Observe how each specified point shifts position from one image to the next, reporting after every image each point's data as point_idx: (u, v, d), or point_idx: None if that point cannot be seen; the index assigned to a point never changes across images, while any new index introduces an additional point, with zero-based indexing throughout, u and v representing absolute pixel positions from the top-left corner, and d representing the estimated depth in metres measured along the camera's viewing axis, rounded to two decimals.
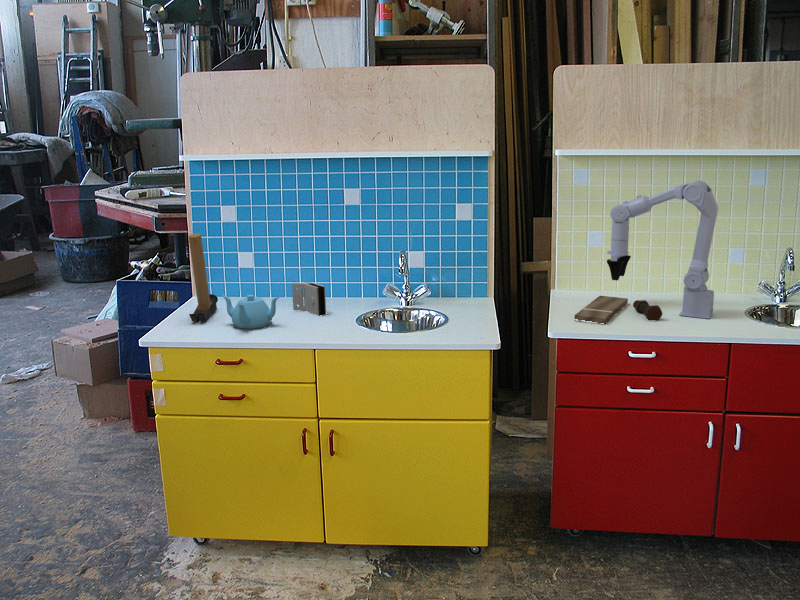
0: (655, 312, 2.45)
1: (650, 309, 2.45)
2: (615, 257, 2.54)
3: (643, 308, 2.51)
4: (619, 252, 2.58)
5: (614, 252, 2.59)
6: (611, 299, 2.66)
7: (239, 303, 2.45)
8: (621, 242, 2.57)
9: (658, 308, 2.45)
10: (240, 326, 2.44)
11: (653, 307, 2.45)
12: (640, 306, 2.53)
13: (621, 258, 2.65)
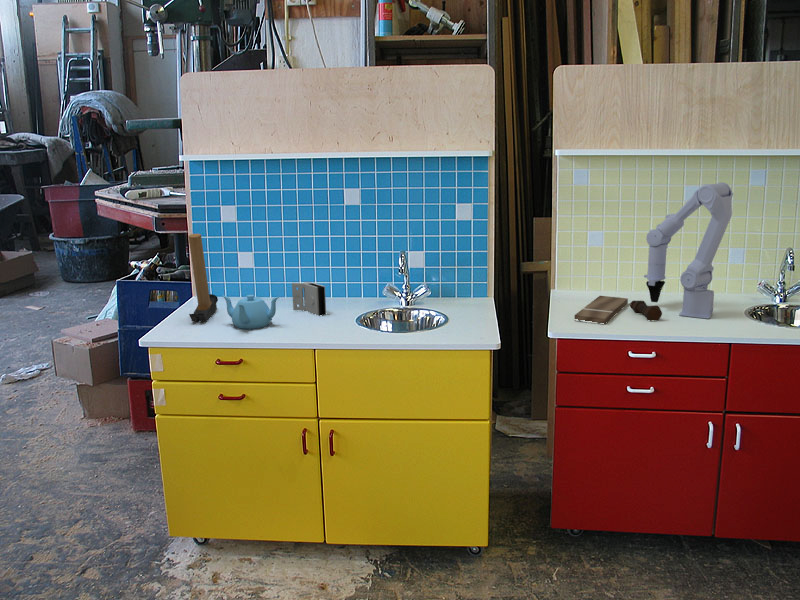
0: (655, 312, 2.45)
1: (650, 309, 2.44)
2: (653, 282, 2.55)
3: (642, 308, 2.50)
4: (656, 276, 2.58)
5: (651, 276, 2.59)
6: (611, 299, 2.66)
7: (239, 303, 2.45)
8: (658, 266, 2.57)
9: (658, 308, 2.45)
10: (240, 326, 2.44)
11: (653, 307, 2.44)
12: (638, 306, 2.53)
13: None
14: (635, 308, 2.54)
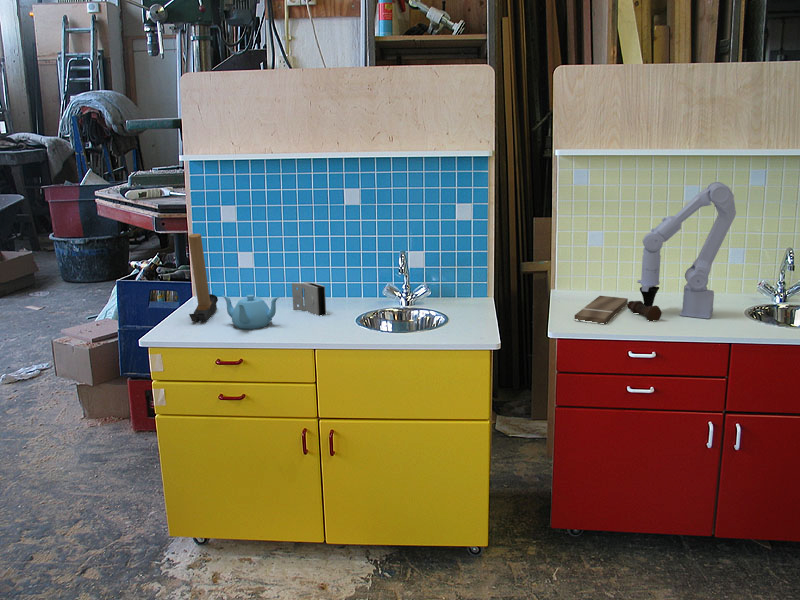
0: (655, 312, 2.45)
1: (650, 310, 2.44)
2: (646, 287, 2.47)
3: (641, 309, 2.50)
4: (650, 282, 2.50)
5: (645, 282, 2.51)
6: (611, 299, 2.66)
7: (239, 303, 2.45)
8: (652, 272, 2.49)
9: (658, 308, 2.45)
10: (240, 326, 2.44)
11: (653, 307, 2.44)
12: (636, 307, 2.52)
13: None
14: (633, 308, 2.53)
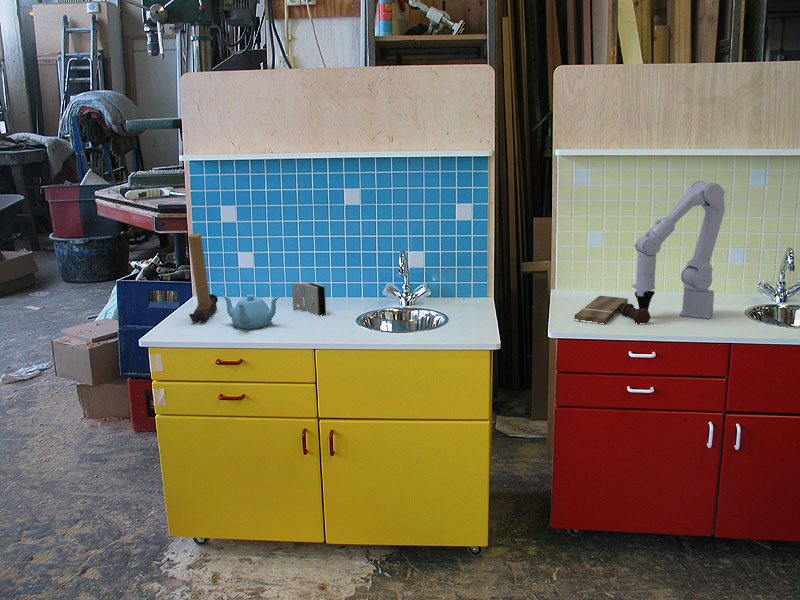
0: (644, 315, 2.41)
1: (638, 312, 2.41)
2: (641, 292, 2.41)
3: (630, 311, 2.47)
4: (645, 286, 2.44)
5: (640, 286, 2.45)
6: (611, 299, 2.66)
7: (239, 303, 2.45)
8: (647, 276, 2.43)
9: (646, 311, 2.41)
10: (240, 326, 2.44)
11: (641, 310, 2.41)
12: (626, 309, 2.49)
13: None
14: (623, 311, 2.50)
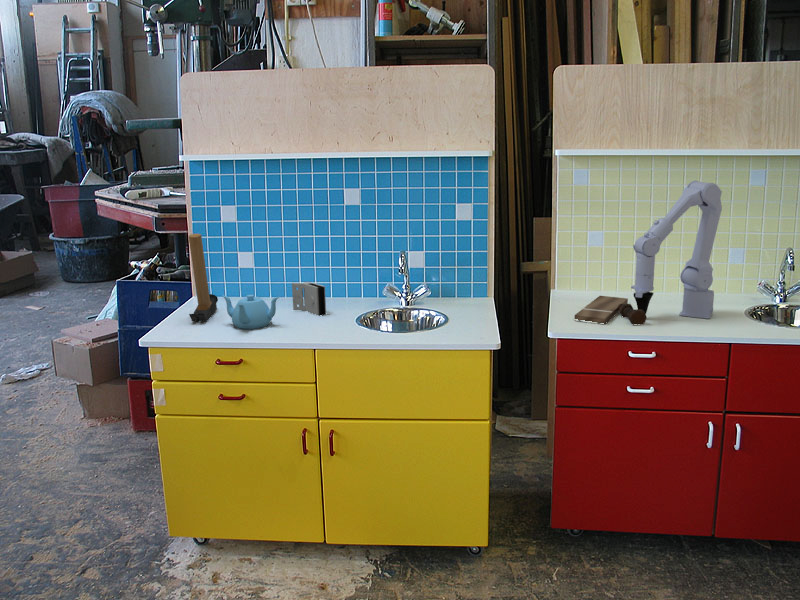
0: (639, 316, 2.40)
1: (634, 313, 2.40)
2: (640, 293, 2.39)
3: (627, 312, 2.46)
4: (644, 287, 2.43)
5: (639, 287, 2.43)
6: (611, 299, 2.66)
7: (239, 303, 2.45)
8: (646, 277, 2.42)
9: (642, 312, 2.40)
10: (240, 326, 2.44)
11: (637, 311, 2.40)
12: (624, 310, 2.49)
13: None
14: (621, 312, 2.50)
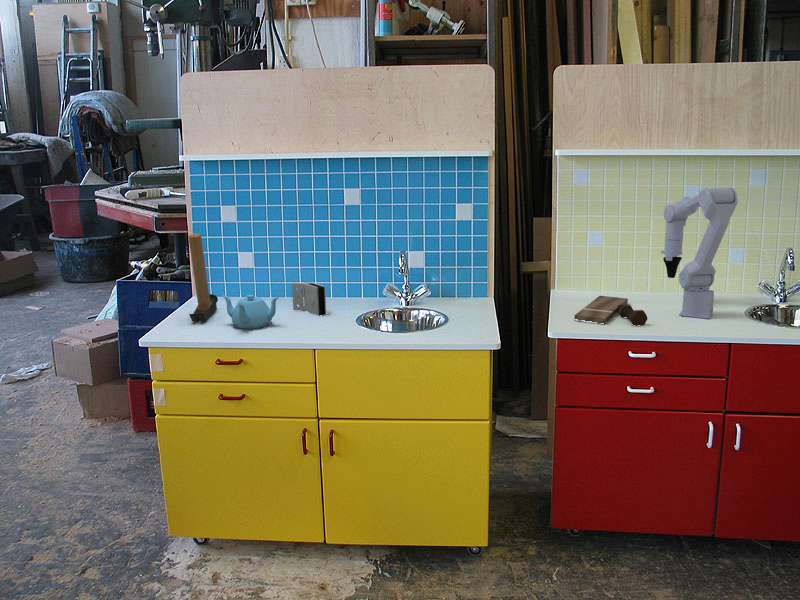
0: (640, 317, 2.40)
1: (635, 314, 2.39)
2: (670, 257, 2.56)
3: (627, 313, 2.45)
4: (673, 252, 2.60)
5: (668, 252, 2.61)
6: (611, 299, 2.66)
7: (239, 303, 2.45)
8: (676, 242, 2.59)
9: (643, 313, 2.39)
10: (240, 326, 2.44)
11: (638, 312, 2.39)
12: (624, 311, 2.48)
13: None
14: (621, 312, 2.49)
